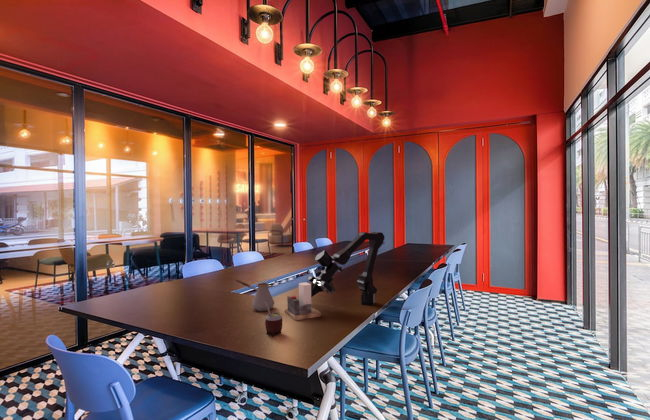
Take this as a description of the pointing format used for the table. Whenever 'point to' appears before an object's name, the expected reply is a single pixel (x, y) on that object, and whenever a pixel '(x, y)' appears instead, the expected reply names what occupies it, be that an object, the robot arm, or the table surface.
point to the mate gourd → (273, 323)
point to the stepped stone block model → (300, 309)
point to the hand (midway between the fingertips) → (309, 297)
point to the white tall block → (304, 293)
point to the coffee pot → (261, 296)
